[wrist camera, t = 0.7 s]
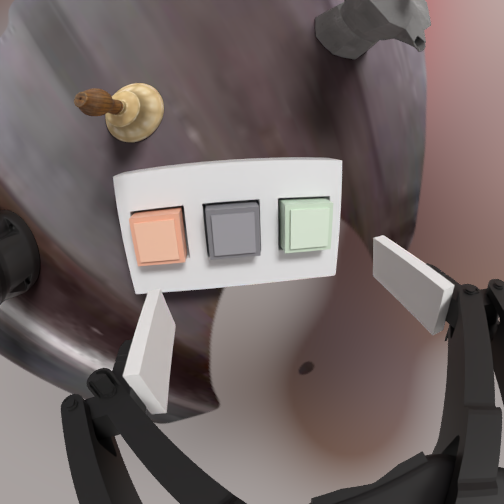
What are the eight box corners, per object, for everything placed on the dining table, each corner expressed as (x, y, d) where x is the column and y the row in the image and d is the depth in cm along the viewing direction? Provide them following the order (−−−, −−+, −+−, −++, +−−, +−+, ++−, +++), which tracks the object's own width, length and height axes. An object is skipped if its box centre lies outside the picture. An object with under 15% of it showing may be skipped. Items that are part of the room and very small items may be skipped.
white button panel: (142, 278, 39) (135, 294, 35) (124, 172, 33) (112, 176, 29) (323, 261, 42) (335, 275, 38) (327, 157, 36) (342, 160, 32)
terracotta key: (143, 256, 34) (137, 267, 31) (135, 212, 32) (127, 219, 29) (187, 252, 35) (185, 263, 32) (181, 207, 32) (178, 213, 29)
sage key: (279, 244, 36) (285, 254, 33) (279, 199, 34) (285, 205, 31) (322, 240, 37) (331, 250, 34) (324, 197, 34) (334, 203, 31)
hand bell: (171, 129, 32) (138, 119, 17) (114, 151, 32) (53, 162, 17) (155, 74, 28) (117, 33, 14) (100, 98, 28) (35, 80, 14)
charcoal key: (210, 250, 35) (210, 261, 32) (206, 204, 33) (205, 211, 30) (256, 246, 36) (260, 256, 33) (255, 200, 33) (259, 207, 30)
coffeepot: (381, 68, 31) (466, 48, 14) (331, 76, 31) (411, 44, 15) (343, -11, 25) (405, -60, 8) (291, -8, 25) (337, -74, 8)
